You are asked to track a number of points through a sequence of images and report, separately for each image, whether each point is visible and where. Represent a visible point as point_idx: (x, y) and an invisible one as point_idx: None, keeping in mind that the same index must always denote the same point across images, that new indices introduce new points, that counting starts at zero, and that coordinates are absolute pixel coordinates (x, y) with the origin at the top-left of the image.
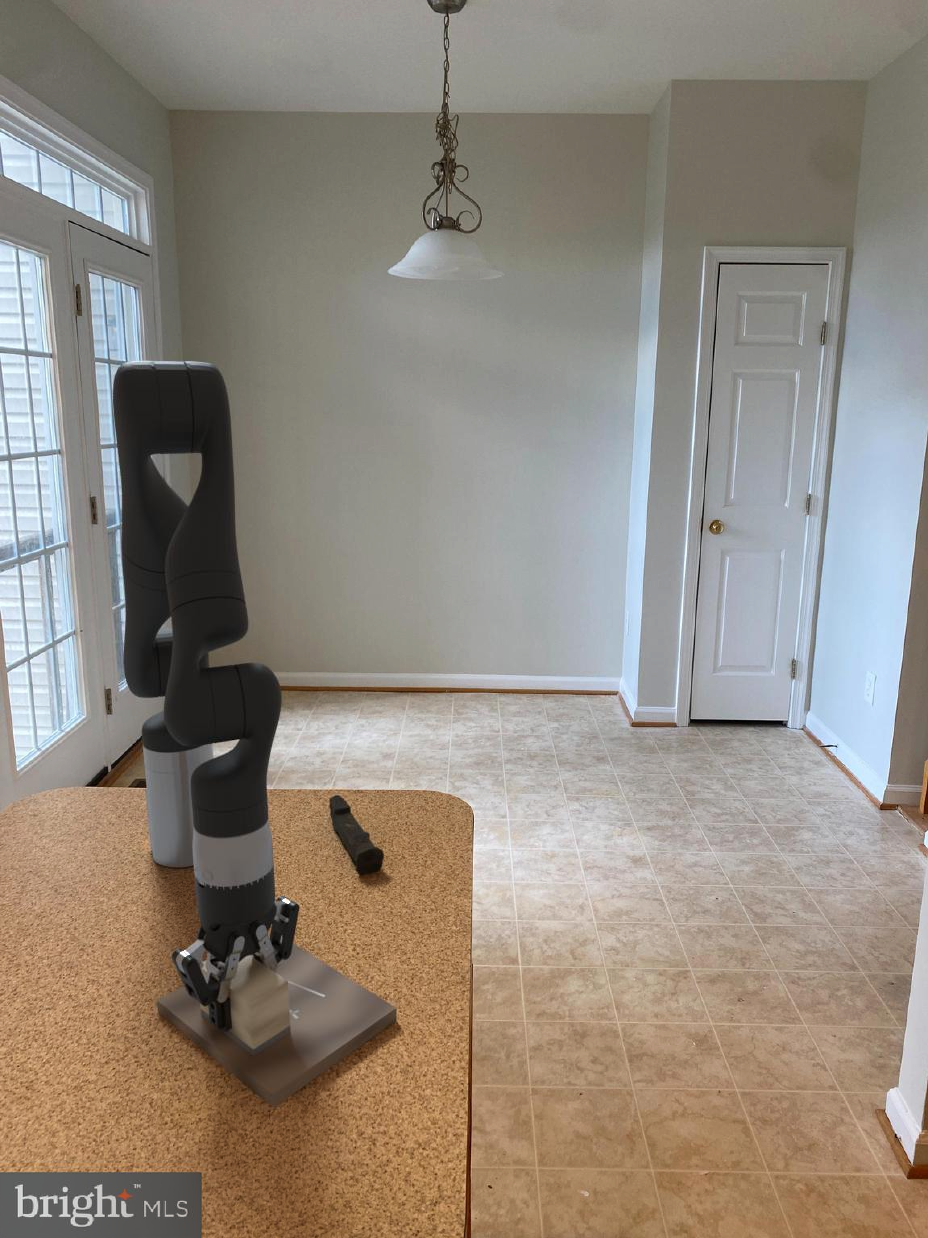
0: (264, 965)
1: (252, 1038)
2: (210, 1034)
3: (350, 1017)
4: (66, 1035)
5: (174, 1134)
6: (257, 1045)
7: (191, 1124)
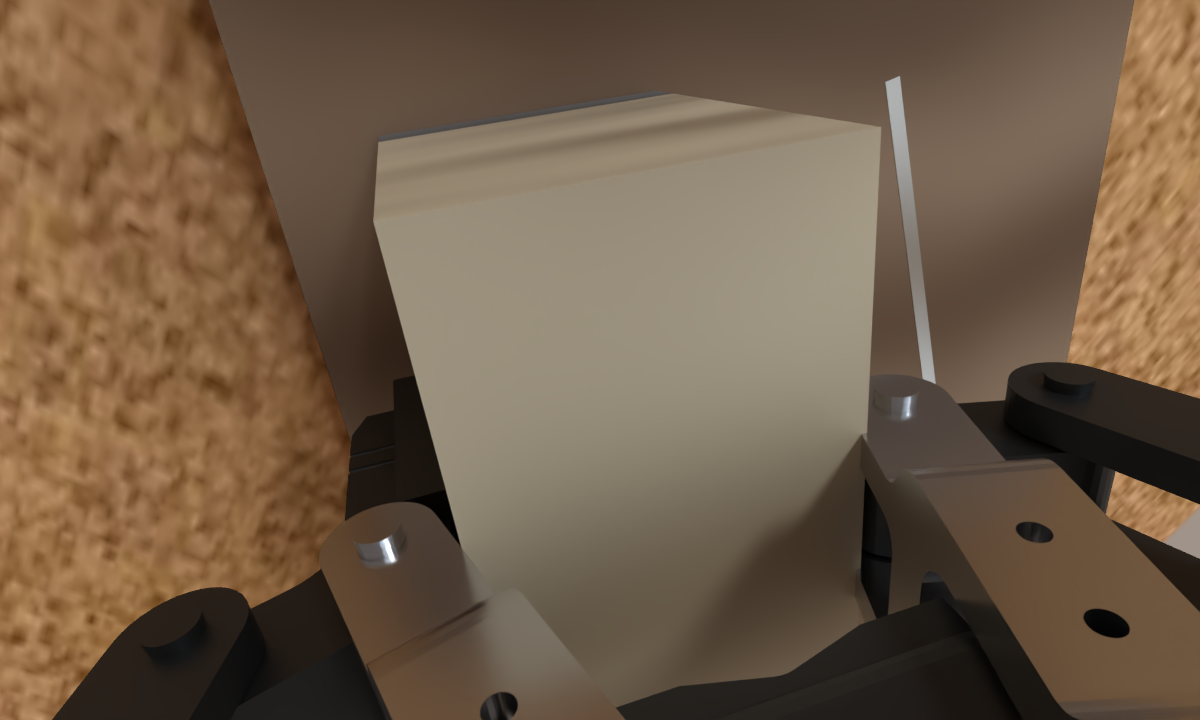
0: (857, 582)
1: None
2: (367, 338)
3: None
4: None
5: (44, 700)
6: None
7: None
